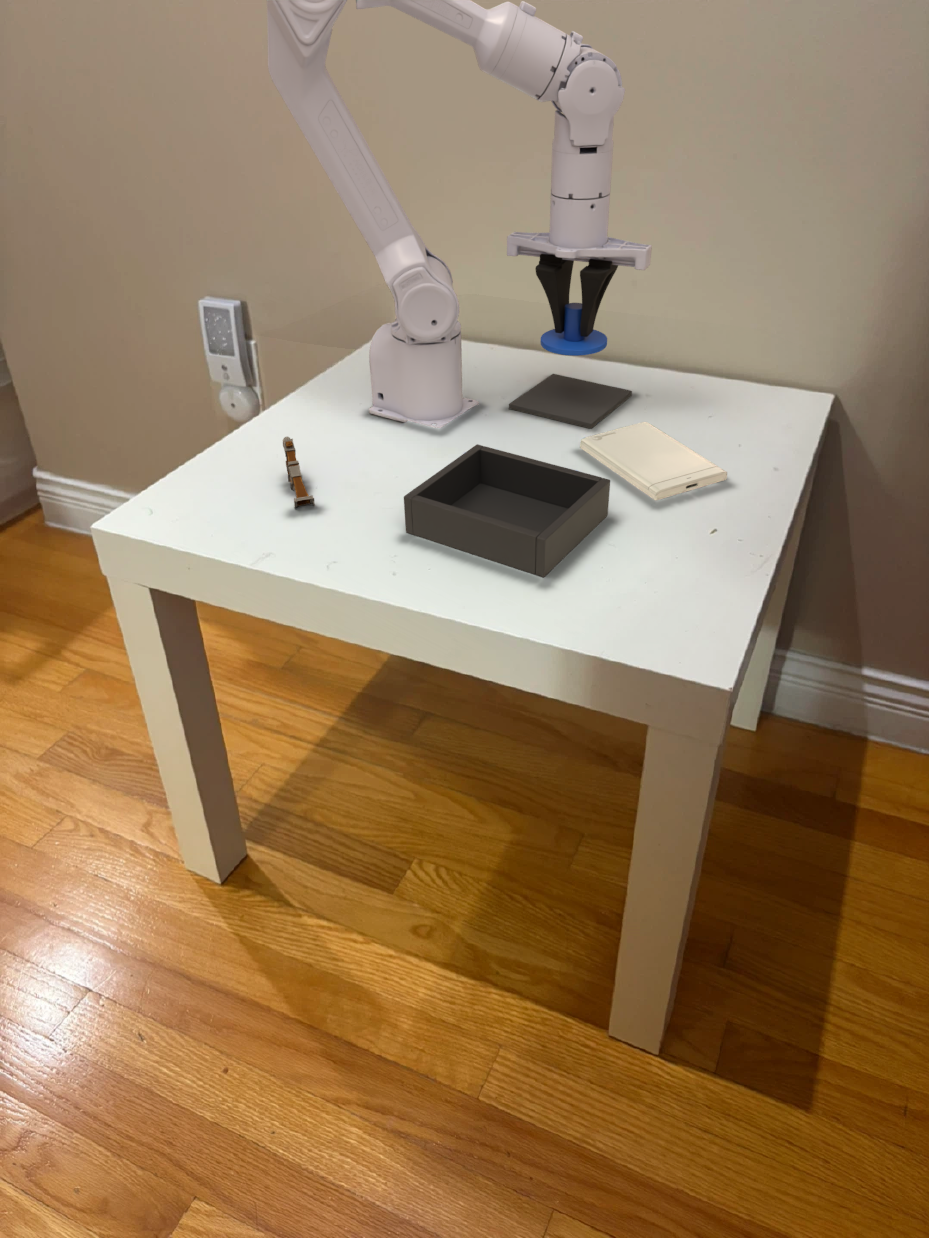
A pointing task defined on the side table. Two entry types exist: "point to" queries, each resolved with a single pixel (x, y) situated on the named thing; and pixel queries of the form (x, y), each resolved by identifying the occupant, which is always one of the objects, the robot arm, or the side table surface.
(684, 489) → the hard drive
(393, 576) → the side table surface
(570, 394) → the mat
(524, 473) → the tray
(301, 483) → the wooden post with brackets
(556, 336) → the lid
